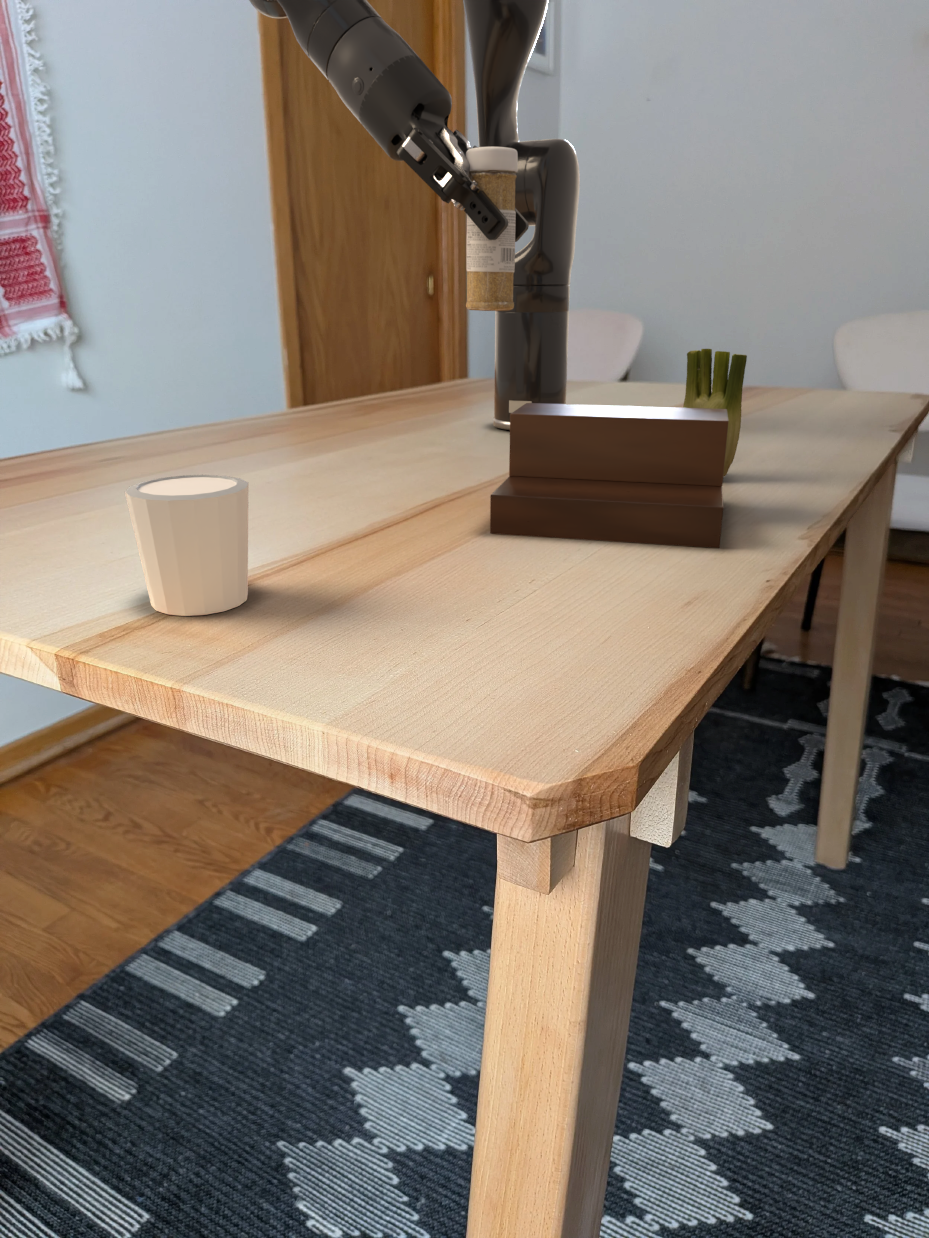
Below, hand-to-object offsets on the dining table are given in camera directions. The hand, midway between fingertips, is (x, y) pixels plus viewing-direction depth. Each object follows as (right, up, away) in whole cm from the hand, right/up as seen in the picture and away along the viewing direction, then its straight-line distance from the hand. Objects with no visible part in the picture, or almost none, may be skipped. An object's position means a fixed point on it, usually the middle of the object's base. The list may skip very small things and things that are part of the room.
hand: (510, 233), depth 82 cm
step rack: (+8, -26, -8) cm, 29 cm away
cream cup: (-20, -34, -27) cm, 47 cm away
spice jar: (-2, -6, +3) cm, 7 cm away
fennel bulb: (+19, -21, +7) cm, 29 cm away
